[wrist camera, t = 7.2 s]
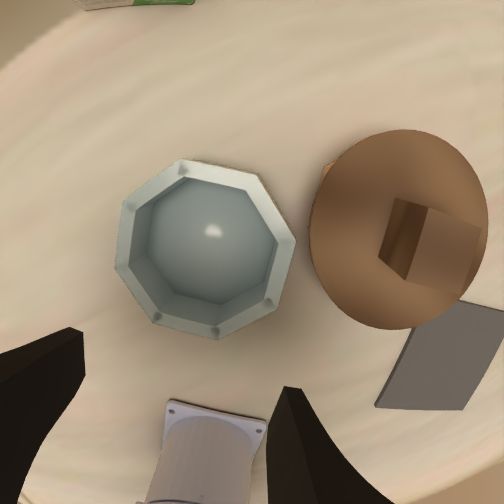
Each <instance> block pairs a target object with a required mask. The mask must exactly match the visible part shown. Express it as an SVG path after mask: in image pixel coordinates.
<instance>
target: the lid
mask: <svg viewBox="0 0 504 504" xmlns="http://www.w3.org/2000/svg"><path fill="white" fill-rule="evenodd" d="M487 237H488V210H487V204H486V199H485V195H484V192H483V189H482V186H481V184H480V181H479V179H478V177H477V175H476V173H475V171H474V170H473V168H472V166H471V165H470V164H469V162H468V161H467V160H466V159H465V157H464V156H463V155H462V154H461V153H460V152H459V151H458V150H457V149H456V148H454V147H453V146H452V145H450V144H449V143H448V142H446V141H444V140H442V139H441V138H439V137H437V136H434V135H432V134H429V133H426V132H421V131H416V130H394V131H388V132H384V133H380V134H377V135H373V136H371V137H368V138H366V139H364V140H362V141H360V142H358V143H357V144H355V145H354V146H352V147H351V148H349V149H348V150H347V151H346V152H345V153H344V154H342V155H341V156H340V157H339V158H338V159H337V161H336V162H335V163H334V164H333V165H332V166H331V168H330V169H329V171H328V172H327V174H326V175H325V177H324V178H323V180H322V182H321V184H320V186H319V188H318V190H317V193H316V196H315V199H314V202H313V205H312V210H311V215H310V221H309V247H310V252H311V258H312V262H313V265H314V268H315V271H316V273H317V275H318V278H319V280H320V282H321V284H322V286H323V288H324V290H325V291H326V293H327V294H328V296H329V297H330V299H331V300H332V301H333V302H334V303H335V304H336V305H337V307H338V308H339V309H341V310H342V311H343V312H344V313H345V314H347V315H348V316H349V317H351V318H353V319H354V320H356V321H358V322H360V323H362V324H365V325H367V326H370V327H374V328H378V329H386V330H401V329H407V328H412V327H415V326H419V325H422V324H424V323H426V322H429V321H431V320H433V319H435V318H436V317H438V316H440V315H441V314H443V313H444V312H445V311H447V310H448V309H449V308H450V307H452V306H453V305H454V304H455V303H456V302H457V301H458V300H459V299H460V297H461V296H462V295H463V294H464V293H465V291H466V290H467V289H468V287H469V286H470V284H471V283H472V281H473V279H474V277H475V275H476V274H477V272H478V269H479V267H480V264H481V262H482V259H483V256H484V252H485V248H486V243H487Z"/></svg>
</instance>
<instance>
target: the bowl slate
mask: <svg viewBox="0 0 504 504" xmlns="http://www.w3.org/2000/svg"><path fill="white" fill-rule="evenodd" d="M295 244H296V239H295V237H294V235H293V232H292V230H291V228H290V226H289V224H288V223H287V221H286V219H285V218H284V216H283V214H282V213H281V211H280V209H279V208H278V206H277V204H276V203H275V201H274V199H273V198H272V196H271V194H270V193H269V191H268V190H267V188H266V186H265V185H264V183H263V181H262V180H261V178H260V177H259V175H258V174H256V173H252V172H248V171H243V170H239V169H234V168H230V167H225V166H221V165H216V164H212V163H207V162H202V161H197V160H188V159H180V160H178V161H177V162H176V163H174V164H173V165H171V166H170V167H168V168H167V169H166V170H164V171H163V172H161V173H160V174H158V175H157V176H156V177H154V178H153V179H152V180H150V181H149V182H147V183H146V184H145V185H143V186H142V187H141V188H139V189H138V190H137V191H135V192H134V193H133V194H131V195H130V196H129V197H127V198H126V199H125V200H123V204H122V211H121V218H120V225H119V233H118V241H117V250H116V259H115V270H116V271H117V273H118V274H119V276H120V277H121V279H122V280H123V282H124V283H125V284H126V286H127V287H128V289H129V290H130V292H131V293H132V295H133V296H134V297H135V299H136V300H137V302H138V303H139V304H140V306H141V307H142V309H143V310H144V311H145V313H146V314H147V315H148V317H149V318H150V319H151V321H152V322H153V323H154V324H158V325H161V326H165V327H168V328H172V329H176V330H179V331H183V332H187V333H191V334H195V335H198V336H202V337H206V338H210V339H214V340H219V339H221V338H223V337H225V336H227V335H229V334H231V333H233V332H235V331H237V330H239V329H241V328H243V327H245V326H247V325H249V324H250V323H252V322H254V321H256V320H258V319H260V318H262V317H264V316H266V315H267V314H269V313H271V312H273V311H275V310H277V307H278V304H279V300H280V297H281V294H282V290H283V287H284V283H285V280H286V276H287V273H288V269H289V266H290V262H291V259H292V255H293V251H294V248H295Z"/></svg>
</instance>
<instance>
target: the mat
mask: <svg viewBox="0 0 504 504" xmlns="http://www.w3.org/2000/svg"><path fill="white" fill-rule="evenodd" d="M503 338H504V311H501V310H497V309H493V308H489V307H485V306H481V305H477V304H473V303H468V302H464V301H460V300H458V301H457V302H456V303H455V304H454V305H453V306H452V307H450V308H449V309H448V310H447V311H445V312H444V313H443V314H441V315H440V316H438V317H436V318H435V319H433V320H431V321H429V322H426V323H424V324H422V325H419V326H415V327H413V328H412V331H411V333H410V335H409V337H408V339H407V342H406V344H405V346H404V348H403V350H402V352H401V354H400V356H399V359H398V361H397V363H396V365H395V367H394V369H393V371H392V373H391V375H390V376H389V378H388V380H387V382H386V384H385V386H384V388H383V390H382V392H381V393H380V395H379V397H378V399H377V401H376V402H375V404H374V405H375V408H388V409H406V410H463V409H464V407H465V406H466V404H467V403H468V401H469V400H470V398H471V396H472V395H473V393H474V391H475V390H476V388H477V386H478V385H479V383H480V381H481V380H482V378H483V376H484V374H485V373H486V371H487V369H488V367H489V365H490V363H491V362H492V360H493V358H494V356H495V354H496V352H497V350H498V348H499V346H500V344H501V342H502V340H503Z"/></svg>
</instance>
